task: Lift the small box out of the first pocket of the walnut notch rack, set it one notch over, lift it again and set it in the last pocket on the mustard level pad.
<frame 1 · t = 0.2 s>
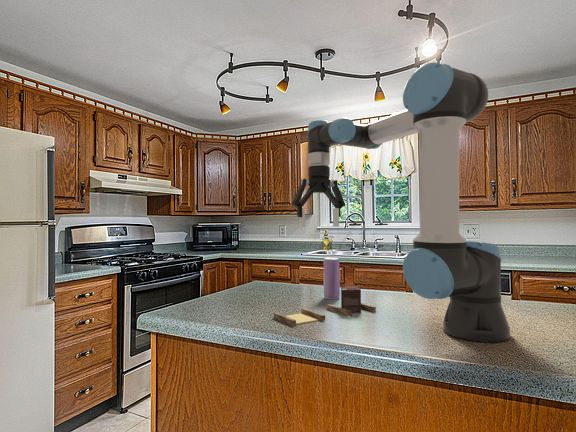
hand: (319, 226, 128), 27 cm above the counter, fingers open, 13 cm apart
notch rack: (326, 314, 114), on the counter
box: (351, 311, 119), on the counter
level pad: (298, 319, 109), on the counter
beverage can: (331, 298, 139), on the counter
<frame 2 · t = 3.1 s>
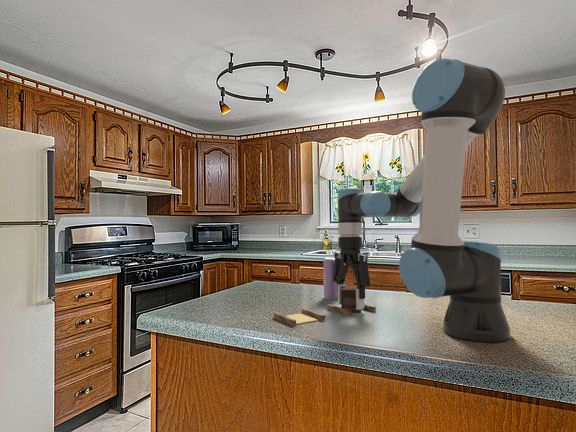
hand: (350, 306, 119), 1 cm above the counter, fingers closed on box, 8 cm apart
box: (351, 311, 119), on the counter, touching gripper
everything else where it was.
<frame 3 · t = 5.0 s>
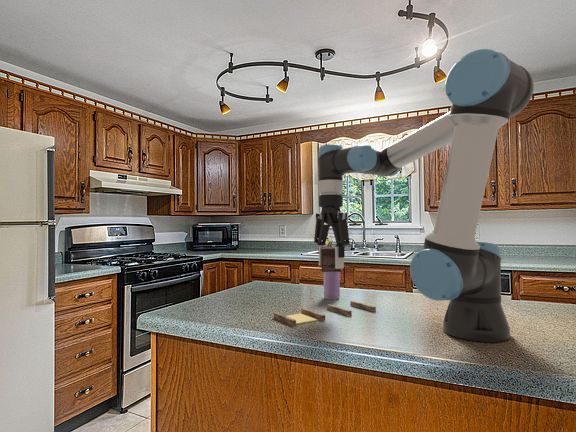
hand: (331, 266, 116), 15 cm above the counter, fingers closed on box, 8 cm apart
box: (331, 271, 116), point 13 cm above the counter, touching gripper
everything else where it was.
when the fingers open (3 cm above the counter, at t = 7.4 s): box drops 1 cm, on the counter.
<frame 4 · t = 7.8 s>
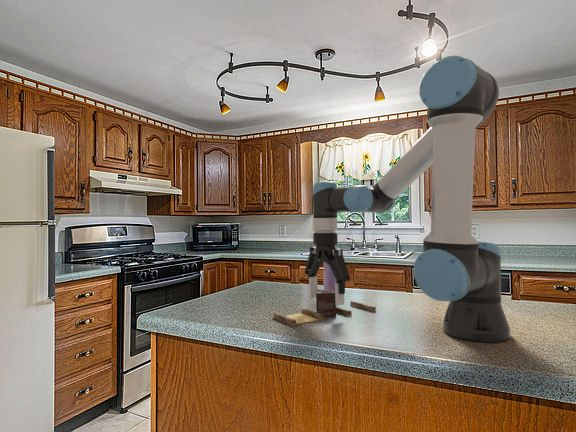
hand: (326, 301, 114), 4 cm above the counter, fingers open, 13 cm apart
box: (326, 315, 114), on the counter
everything else where it was.
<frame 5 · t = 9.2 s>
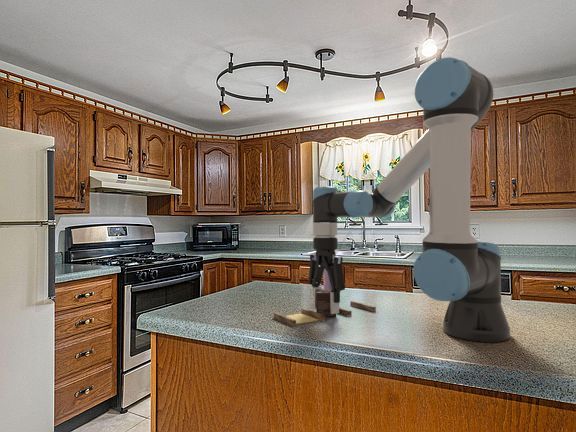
hand: (326, 310, 114), 1 cm above the counter, fingers closed on box, 8 cm apart
box: (326, 315, 114), on the counter, touching gripper
everything else where it was.
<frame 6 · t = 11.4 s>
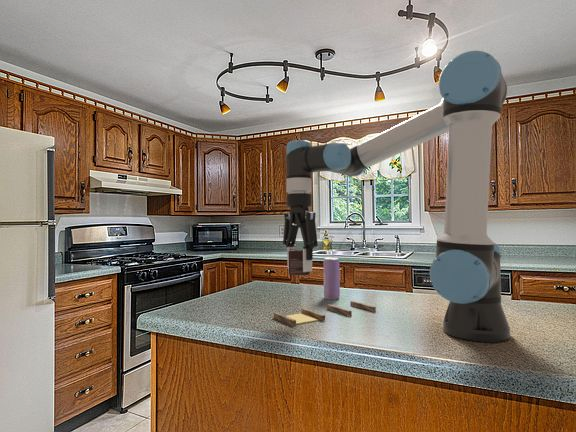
hand: (299, 269, 109), 14 cm above the counter, fingers closed on box, 8 cm apart
box: (299, 274, 109), point 13 cm above the counter, touching gripper
everything else where it was.
when the fingers open (3 cm above the counter, at t = 14.0 s): box drops 1 cm, resting on level pad.
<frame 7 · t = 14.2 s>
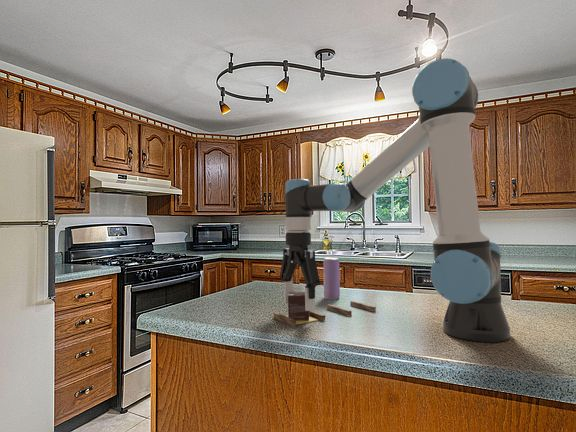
hand: (298, 306, 109), 4 cm above the counter, fingers open, 11 cm apart
box: (299, 318, 108), resting on level pad
everything else where it was.
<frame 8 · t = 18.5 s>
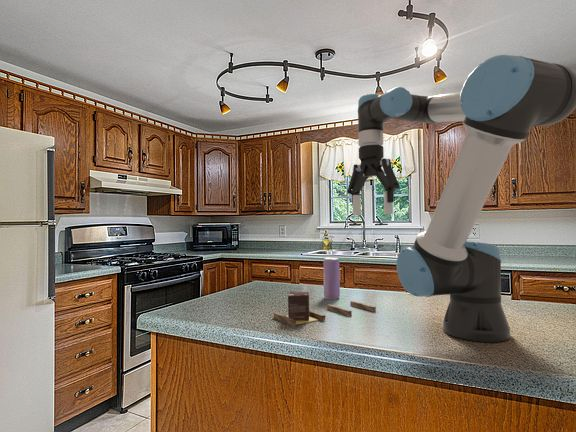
hand: (371, 214, 114), 31 cm above the counter, fingers open, 13 cm apart
nothing on the counter moved.
at the end: box inside the target area (0.0 cm from its centre), resting on level pad; box tilted 0°; the gripper is holding nothing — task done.
